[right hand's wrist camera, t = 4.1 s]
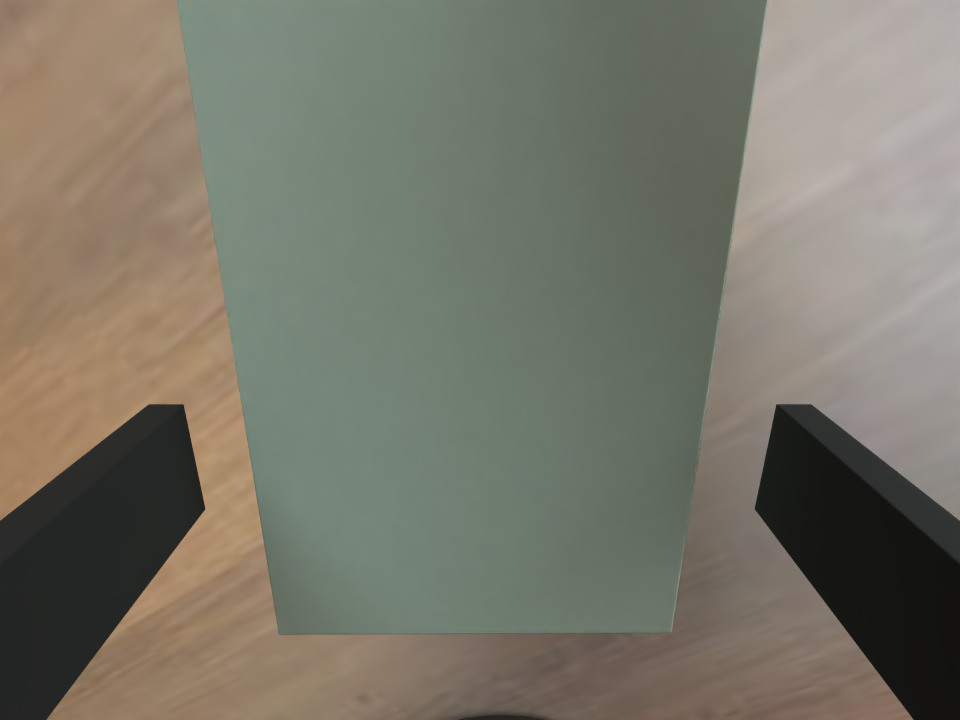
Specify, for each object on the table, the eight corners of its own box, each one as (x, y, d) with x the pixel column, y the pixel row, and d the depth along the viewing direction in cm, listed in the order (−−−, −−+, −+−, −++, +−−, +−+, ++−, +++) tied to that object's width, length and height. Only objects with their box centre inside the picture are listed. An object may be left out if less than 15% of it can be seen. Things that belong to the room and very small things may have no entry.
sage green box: (322, 7, 19) (150, -153, 9) (627, 8, 19) (793, -151, 9) (358, 440, 24) (277, 635, 14) (593, 439, 24) (672, 634, 14)
